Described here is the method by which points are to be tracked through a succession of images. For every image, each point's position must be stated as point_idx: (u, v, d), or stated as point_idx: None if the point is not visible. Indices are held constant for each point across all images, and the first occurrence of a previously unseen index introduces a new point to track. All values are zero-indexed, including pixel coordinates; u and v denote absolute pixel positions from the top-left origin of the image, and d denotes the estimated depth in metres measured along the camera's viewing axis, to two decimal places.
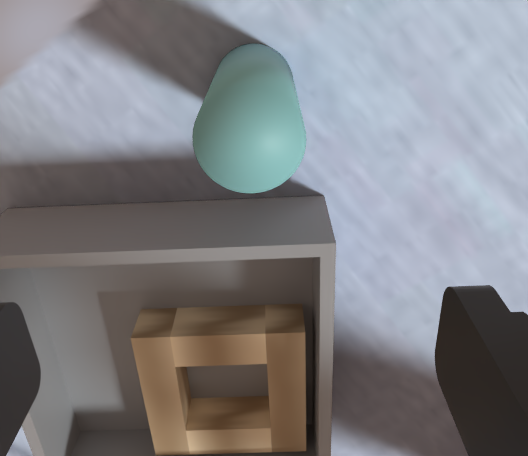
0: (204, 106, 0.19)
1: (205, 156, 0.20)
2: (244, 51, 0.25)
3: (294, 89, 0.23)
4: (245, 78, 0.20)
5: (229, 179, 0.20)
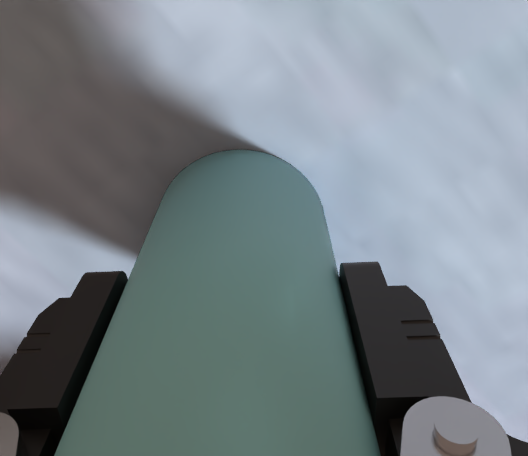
0: None
1: None
2: (214, 190, 0.10)
3: (351, 344, 0.08)
4: None
5: None
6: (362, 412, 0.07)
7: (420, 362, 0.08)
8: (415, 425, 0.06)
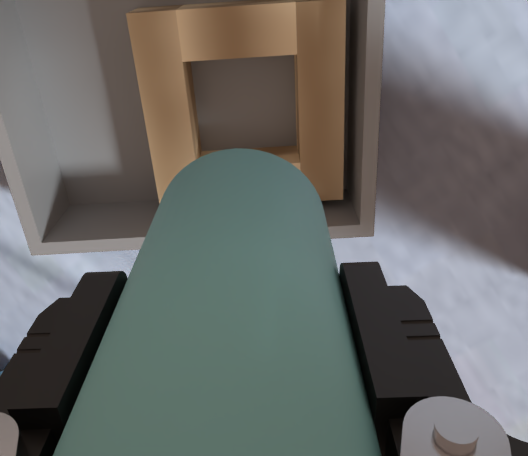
0: None
1: None
2: (214, 189, 0.10)
3: (351, 342, 0.08)
4: None
5: None
6: (363, 410, 0.07)
7: (420, 362, 0.08)
8: (415, 425, 0.06)
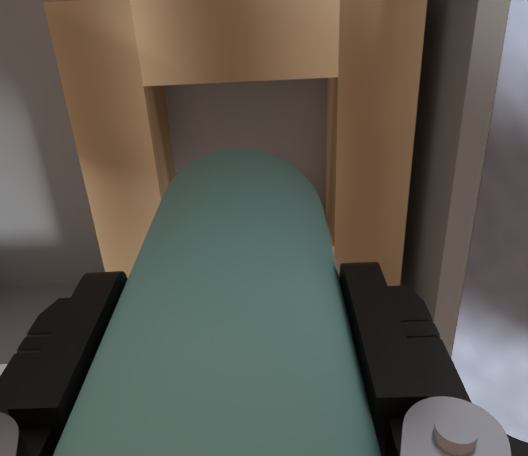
0: None
1: None
2: (214, 189, 0.10)
3: (351, 342, 0.08)
4: None
5: None
6: (362, 410, 0.07)
7: (420, 362, 0.08)
8: (415, 425, 0.06)
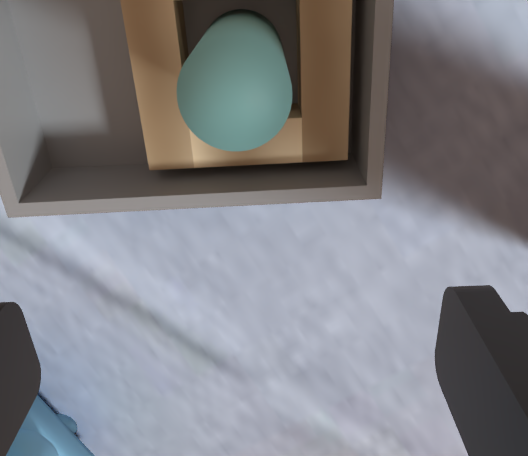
0: (188, 59, 0.19)
1: (190, 112, 0.20)
2: (231, 14, 0.25)
3: (281, 49, 0.23)
4: (230, 31, 0.19)
5: (215, 136, 0.20)
6: (281, 51, 0.21)
7: None
8: None
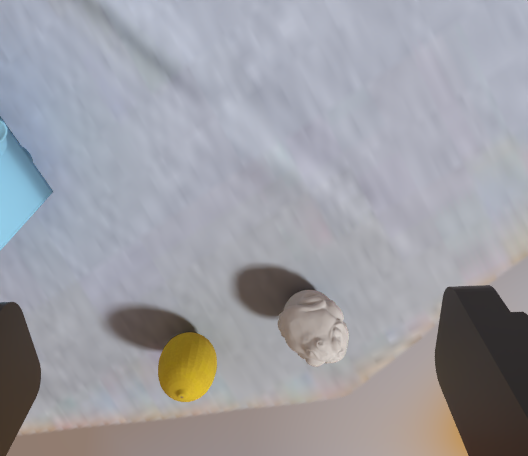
0: None
1: None
2: None
3: None
4: None
5: None
6: None
7: None
8: None
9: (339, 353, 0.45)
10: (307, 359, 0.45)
